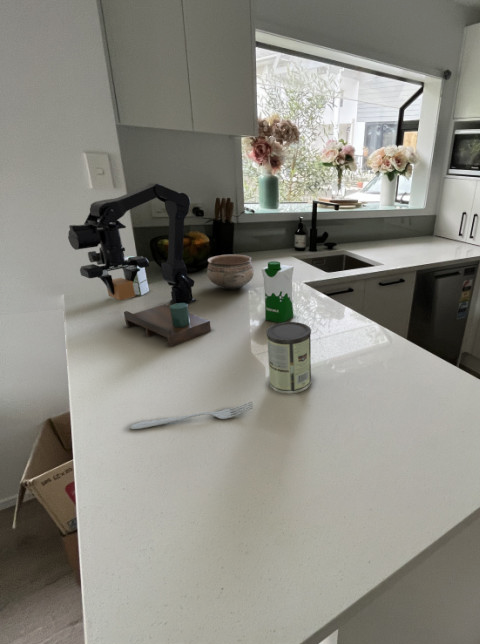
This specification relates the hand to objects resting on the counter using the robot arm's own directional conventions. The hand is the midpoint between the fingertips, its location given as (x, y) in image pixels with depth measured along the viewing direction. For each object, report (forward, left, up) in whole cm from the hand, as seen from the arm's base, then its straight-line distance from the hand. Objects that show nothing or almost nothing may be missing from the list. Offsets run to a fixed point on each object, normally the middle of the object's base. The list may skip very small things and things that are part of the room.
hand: (121, 292), depth 122 cm
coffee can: (-3, +69, -10) cm, 70 cm away
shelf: (-4, +17, -10) cm, 20 cm away
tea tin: (-4, +25, -6) cm, 26 cm away
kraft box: (0, 0, -1) cm, 1 cm away
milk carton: (-32, +39, -10) cm, 52 cm away
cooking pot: (-45, 0, -10) cm, 46 cm away
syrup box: (-17, -23, -10) cm, 30 cm away
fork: (+20, +63, -10) cm, 66 cm away
